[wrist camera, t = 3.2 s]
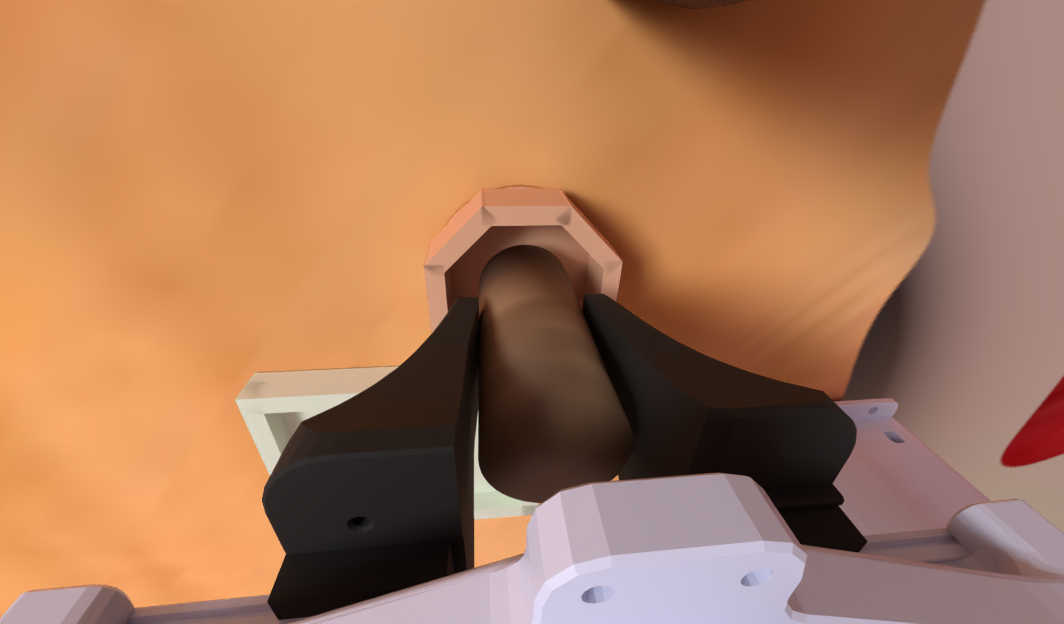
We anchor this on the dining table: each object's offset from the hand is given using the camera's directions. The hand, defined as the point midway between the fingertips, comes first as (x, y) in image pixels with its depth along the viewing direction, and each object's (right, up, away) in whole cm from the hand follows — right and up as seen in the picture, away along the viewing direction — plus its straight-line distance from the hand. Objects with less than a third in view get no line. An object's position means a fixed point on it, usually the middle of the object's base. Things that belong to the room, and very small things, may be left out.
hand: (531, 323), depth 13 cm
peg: (0, +1, +2) cm, 2 cm away
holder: (-1, +2, +3) cm, 4 cm away
